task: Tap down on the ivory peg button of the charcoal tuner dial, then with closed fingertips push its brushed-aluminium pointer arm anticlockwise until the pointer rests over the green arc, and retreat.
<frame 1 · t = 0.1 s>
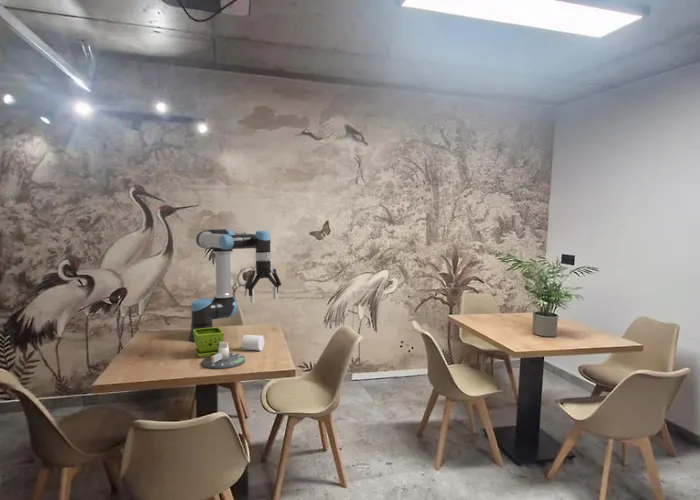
hand: (263, 300, 231), 28 cm above the table, fingers open, 13 cm apart
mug: (254, 349, 241), on the table
peg: (219, 352, 214), point 6 cm above the table, hinge at 0.0°
tuner dial: (223, 362, 217), on the table
flower pot: (208, 354, 231), on the table
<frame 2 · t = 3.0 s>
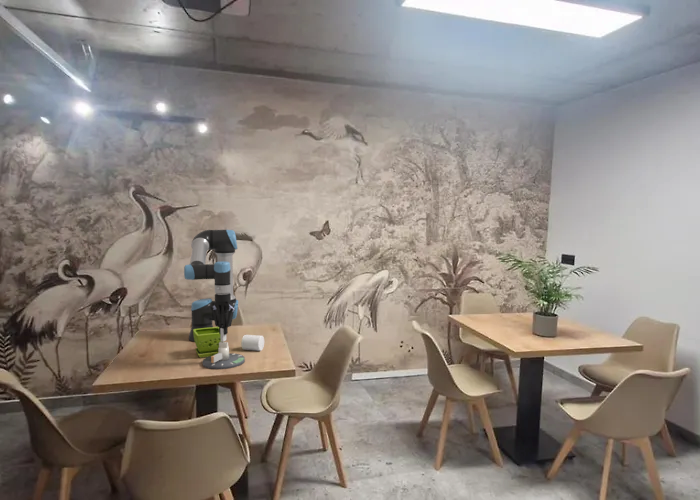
hand: (223, 340, 217), 11 cm above the table, fingers closed
nothing on the table moved.
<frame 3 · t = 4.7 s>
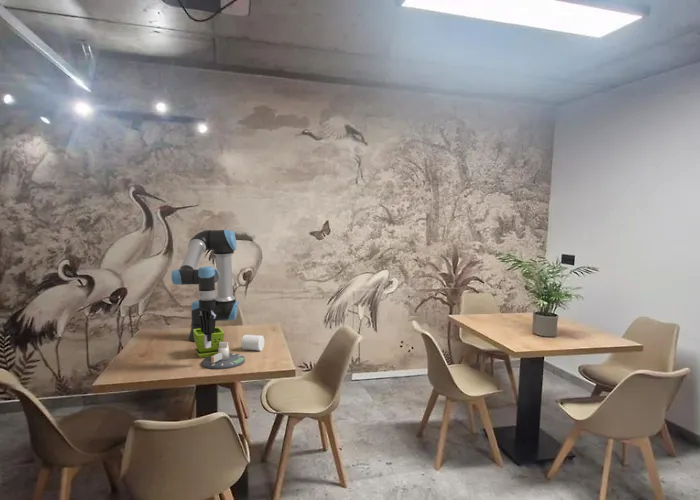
hand: (207, 347, 213), 9 cm above the table, fingers closed
nothing on the table moved.
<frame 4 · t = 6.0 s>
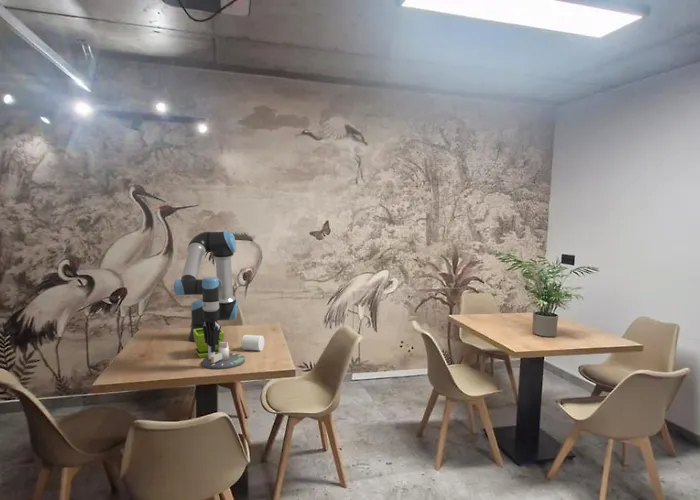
hand: (211, 358, 211), 4 cm above the table, fingers closed
peg: (219, 352, 214), point 6 cm above the table, hinge at 0.0°, touching gripper
everything else where it was.
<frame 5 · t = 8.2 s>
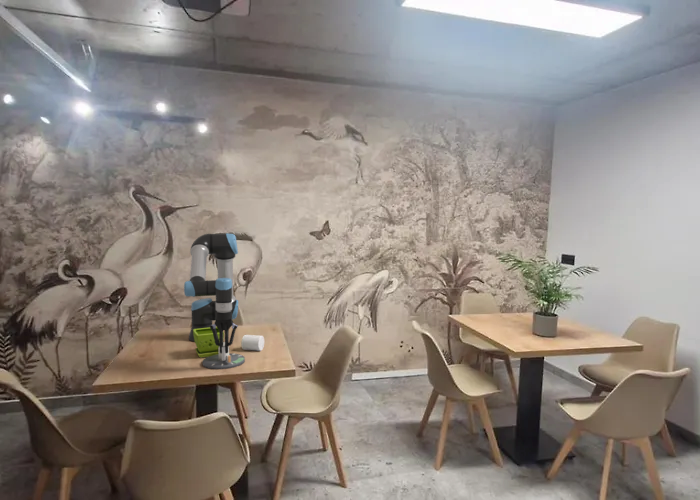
hand: (224, 359, 210), 4 cm above the table, fingers closed
peg: (225, 352, 214), point 6 cm above the table, hinge at 51.1°, touching gripper
everything else where it was.
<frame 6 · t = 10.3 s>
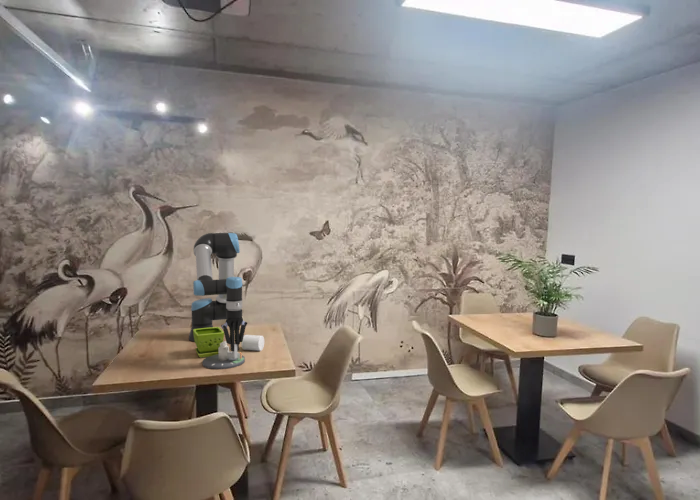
hand: (234, 357, 214), 4 cm above the table, fingers closed
peg: (230, 351, 216), point 6 cm above the table, hinge at 95.5°, touching gripper
everything else where it was.
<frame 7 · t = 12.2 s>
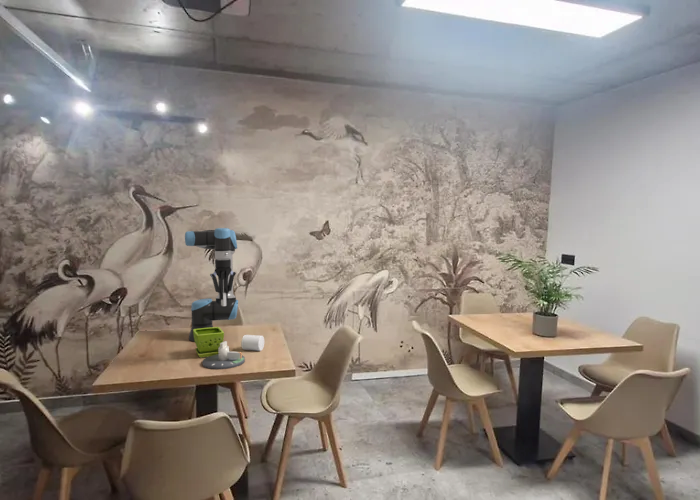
hand: (223, 305, 222), 27 cm above the table, fingers closed
peg: (230, 351, 216), point 6 cm above the table, hinge at 95.9°
everything else where it was.
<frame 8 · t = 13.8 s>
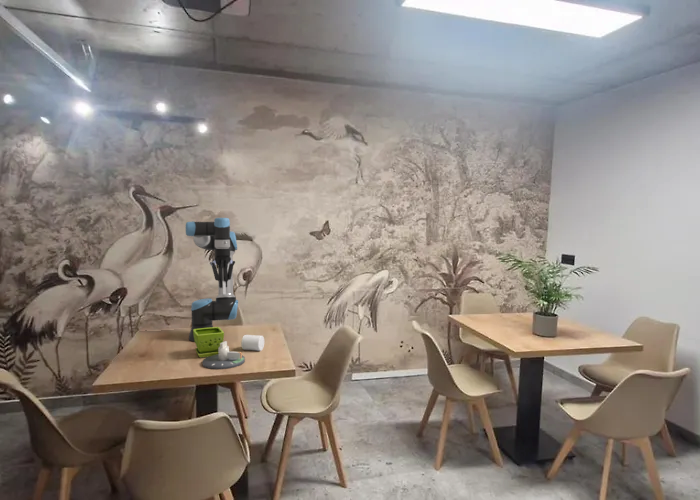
hand: (223, 293, 226), 32 cm above the table, fingers closed
nothing on the table moved.
at the end: peg at +96° (first picture: +0°) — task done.
